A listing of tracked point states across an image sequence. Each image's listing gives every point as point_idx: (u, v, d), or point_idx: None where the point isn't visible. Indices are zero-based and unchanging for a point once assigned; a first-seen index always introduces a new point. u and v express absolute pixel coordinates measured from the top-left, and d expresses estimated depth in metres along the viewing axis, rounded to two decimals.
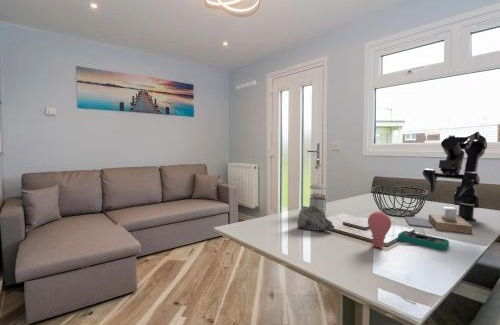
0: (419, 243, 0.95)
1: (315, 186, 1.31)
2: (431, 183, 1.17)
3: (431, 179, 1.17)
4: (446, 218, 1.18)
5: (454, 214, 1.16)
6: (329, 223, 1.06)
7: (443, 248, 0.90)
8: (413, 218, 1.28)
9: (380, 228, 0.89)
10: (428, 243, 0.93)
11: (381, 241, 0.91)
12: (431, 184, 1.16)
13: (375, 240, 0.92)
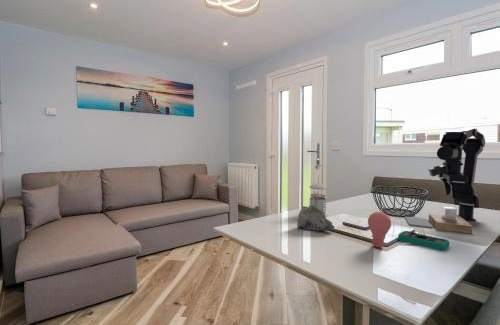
0: (419, 243, 0.95)
1: (315, 186, 1.31)
2: (444, 186, 1.23)
3: (443, 182, 1.24)
4: (446, 218, 1.18)
5: (454, 214, 1.16)
6: (329, 223, 1.06)
7: (443, 248, 0.90)
8: (413, 218, 1.28)
9: (380, 228, 0.89)
10: (428, 243, 0.93)
11: (381, 241, 0.91)
12: (444, 187, 1.23)
13: (375, 240, 0.92)
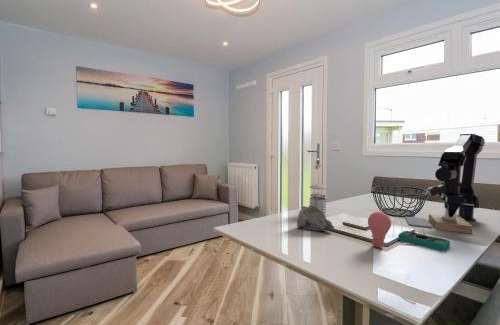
0: (419, 243, 0.95)
1: (315, 186, 1.31)
2: (444, 205, 1.22)
3: (443, 201, 1.22)
4: (446, 218, 1.18)
5: (454, 214, 1.16)
6: (329, 223, 1.06)
7: (442, 248, 0.90)
8: (413, 218, 1.28)
9: (380, 228, 0.89)
10: (428, 242, 0.93)
11: (381, 241, 0.91)
12: None
13: (375, 240, 0.92)
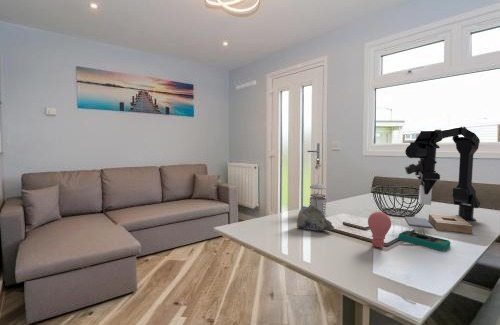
0: (419, 243, 0.95)
1: (315, 186, 1.31)
2: (421, 184, 1.25)
3: (420, 180, 1.25)
4: (422, 195, 1.20)
5: None
6: (328, 223, 1.06)
7: (442, 248, 0.90)
8: (413, 218, 1.28)
9: (380, 228, 0.89)
10: (428, 242, 0.93)
11: (381, 241, 0.91)
12: None
13: (375, 240, 0.92)
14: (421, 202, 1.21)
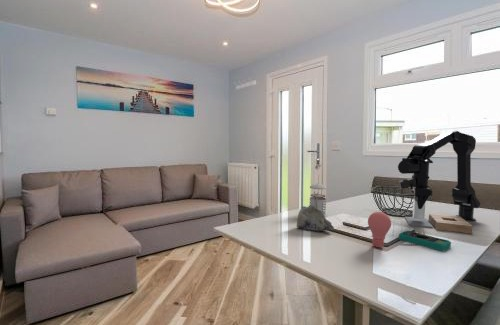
0: (419, 243, 0.96)
1: (315, 186, 1.31)
2: (415, 198, 1.26)
3: None
4: (415, 210, 1.22)
5: (423, 206, 1.21)
6: (328, 223, 1.05)
7: (442, 248, 0.90)
8: (413, 218, 1.28)
9: (380, 228, 0.89)
10: (428, 242, 0.93)
11: (381, 241, 0.91)
12: None
13: (375, 240, 0.92)
14: (415, 216, 1.22)
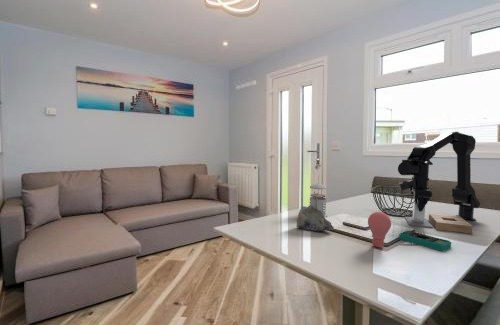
0: (419, 242, 0.96)
1: (315, 186, 1.31)
2: (414, 199, 1.28)
3: (413, 195, 1.28)
4: (415, 213, 1.22)
5: (423, 210, 1.21)
6: (328, 223, 1.05)
7: (441, 248, 0.90)
8: None
9: (380, 228, 0.89)
10: (427, 242, 0.93)
11: (381, 241, 0.91)
12: None
13: (375, 240, 0.92)
14: (414, 220, 1.22)
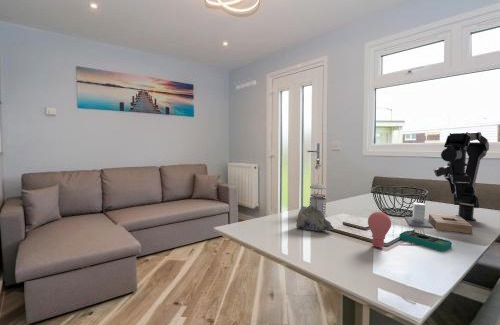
0: (419, 242, 0.96)
1: (315, 186, 1.31)
2: None
3: (448, 181, 1.28)
4: (415, 213, 1.22)
5: (423, 210, 1.21)
6: (328, 223, 1.05)
7: (441, 248, 0.90)
8: None
9: (380, 228, 0.89)
10: (427, 242, 0.93)
11: (381, 241, 0.91)
12: None
13: (375, 240, 0.92)
14: (414, 220, 1.22)
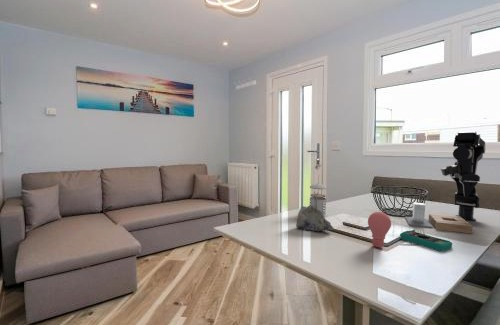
0: (419, 242, 0.96)
1: (315, 186, 1.31)
2: (456, 184, 1.27)
3: (455, 181, 1.28)
4: (415, 213, 1.22)
5: (423, 210, 1.21)
6: (327, 224, 1.05)
7: (440, 248, 0.90)
8: None
9: (380, 228, 0.89)
10: (427, 242, 0.93)
11: (381, 241, 0.91)
12: (456, 185, 1.27)
13: (375, 240, 0.92)
14: (414, 220, 1.22)
